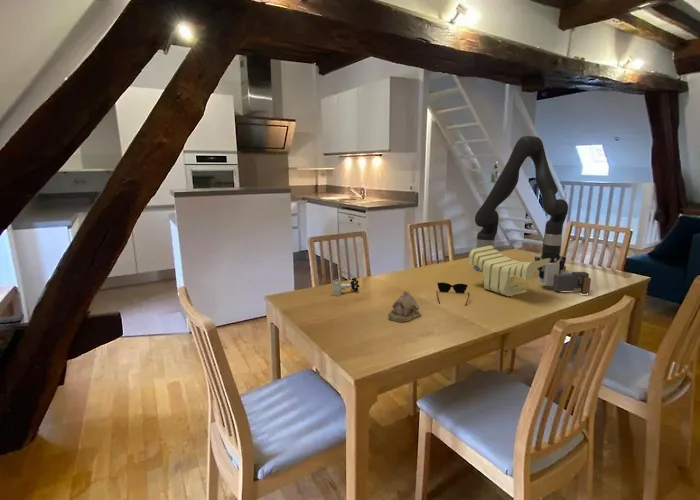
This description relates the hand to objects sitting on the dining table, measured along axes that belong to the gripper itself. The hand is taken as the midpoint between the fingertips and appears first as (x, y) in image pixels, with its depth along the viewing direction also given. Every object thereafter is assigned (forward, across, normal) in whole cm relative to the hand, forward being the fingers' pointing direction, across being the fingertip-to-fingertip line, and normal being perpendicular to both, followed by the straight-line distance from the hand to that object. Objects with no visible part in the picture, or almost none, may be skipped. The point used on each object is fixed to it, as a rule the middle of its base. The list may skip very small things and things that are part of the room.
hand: (548, 278), depth 186 cm
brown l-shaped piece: (+5, -9, +1) cm, 10 cm away
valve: (+5, +96, +2) cm, 96 cm away
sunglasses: (+6, +48, +11) cm, 50 cm away
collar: (+4, -7, +6) cm, 10 cm away
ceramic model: (+5, +73, +30) cm, 79 cm away
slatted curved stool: (+5, +22, +3) cm, 22 cm away
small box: (+3, 0, 0) cm, 3 cm away
